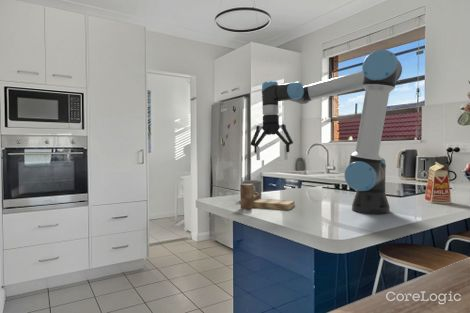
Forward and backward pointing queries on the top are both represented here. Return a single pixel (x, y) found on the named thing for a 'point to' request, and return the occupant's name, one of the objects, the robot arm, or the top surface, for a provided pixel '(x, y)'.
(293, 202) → the oak board
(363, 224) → the top surface
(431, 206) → the top surface
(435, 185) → the milk carton
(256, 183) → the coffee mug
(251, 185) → the block
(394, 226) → the top surface
